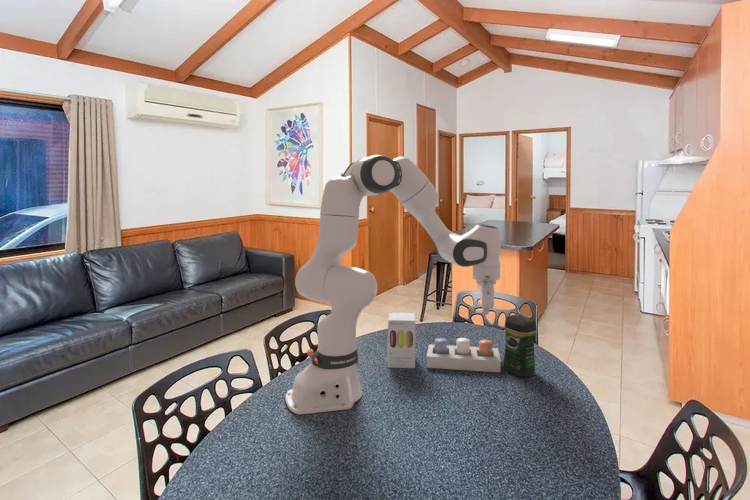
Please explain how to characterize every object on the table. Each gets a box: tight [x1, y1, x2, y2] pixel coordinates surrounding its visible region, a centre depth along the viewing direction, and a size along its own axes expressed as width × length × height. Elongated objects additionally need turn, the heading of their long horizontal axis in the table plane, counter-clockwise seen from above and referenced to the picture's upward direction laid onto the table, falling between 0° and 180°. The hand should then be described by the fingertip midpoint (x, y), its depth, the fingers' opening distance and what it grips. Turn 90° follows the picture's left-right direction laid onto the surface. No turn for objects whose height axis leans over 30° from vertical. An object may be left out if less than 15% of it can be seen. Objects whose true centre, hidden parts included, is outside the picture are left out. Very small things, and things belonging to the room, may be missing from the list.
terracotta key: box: [478, 339, 494, 356], centre depth 148 cm, size 4×4×4 cm
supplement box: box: [387, 312, 416, 369], centre depth 151 cm, size 10×9×17 cm
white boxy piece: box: [426, 343, 502, 373], centre depth 150 cm, size 24×11×4 cm, turn 79°
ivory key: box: [456, 337, 471, 354], centre depth 150 cm, size 4×4×4 cm
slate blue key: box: [433, 337, 448, 354], centre depth 151 cm, size 4×4×4 cm
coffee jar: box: [502, 314, 537, 378], centre depth 142 cm, size 10×8×19 cm
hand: (485, 313), depth 147 cm, fingers closed
